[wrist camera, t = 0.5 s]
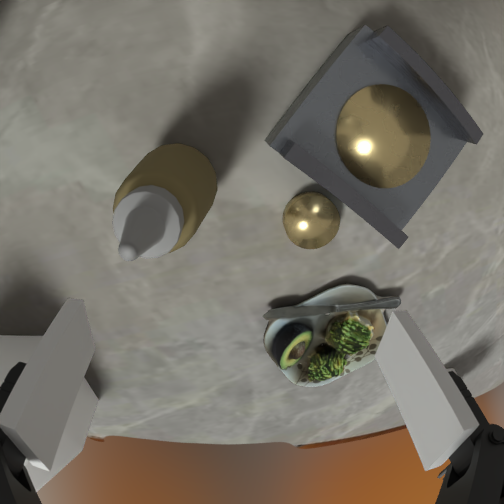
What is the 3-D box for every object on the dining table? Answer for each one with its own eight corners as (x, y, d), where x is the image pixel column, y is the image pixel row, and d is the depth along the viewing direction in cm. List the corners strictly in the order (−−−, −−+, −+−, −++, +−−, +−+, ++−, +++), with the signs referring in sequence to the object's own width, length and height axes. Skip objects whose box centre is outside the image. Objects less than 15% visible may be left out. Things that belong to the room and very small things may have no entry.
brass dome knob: (271, 223, 35) (273, 230, 34) (304, 180, 33) (308, 184, 32) (312, 250, 37) (316, 258, 35) (344, 211, 35) (350, 217, 33)
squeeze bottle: (207, 129, 30) (173, 154, 14) (228, 202, 34) (222, 297, 18) (134, 153, 31) (43, 205, 15) (158, 222, 34) (101, 323, 18)
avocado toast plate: (380, 245, 37) (396, 263, 33) (407, 336, 45) (419, 356, 40) (243, 313, 41) (244, 336, 36) (297, 388, 48) (301, 410, 44)
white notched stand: (61, 335, 41) (-6, 468, 19) (99, 399, 48) (63, 519, 25) (-12, 334, 41) (-75, 431, 19) (26, 392, 48) (-16, 486, 26)
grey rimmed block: (264, 140, 31) (273, 150, 24) (347, 34, 26) (378, 17, 19) (374, 224, 36) (404, 254, 28) (445, 130, 31) (488, 140, 24)
